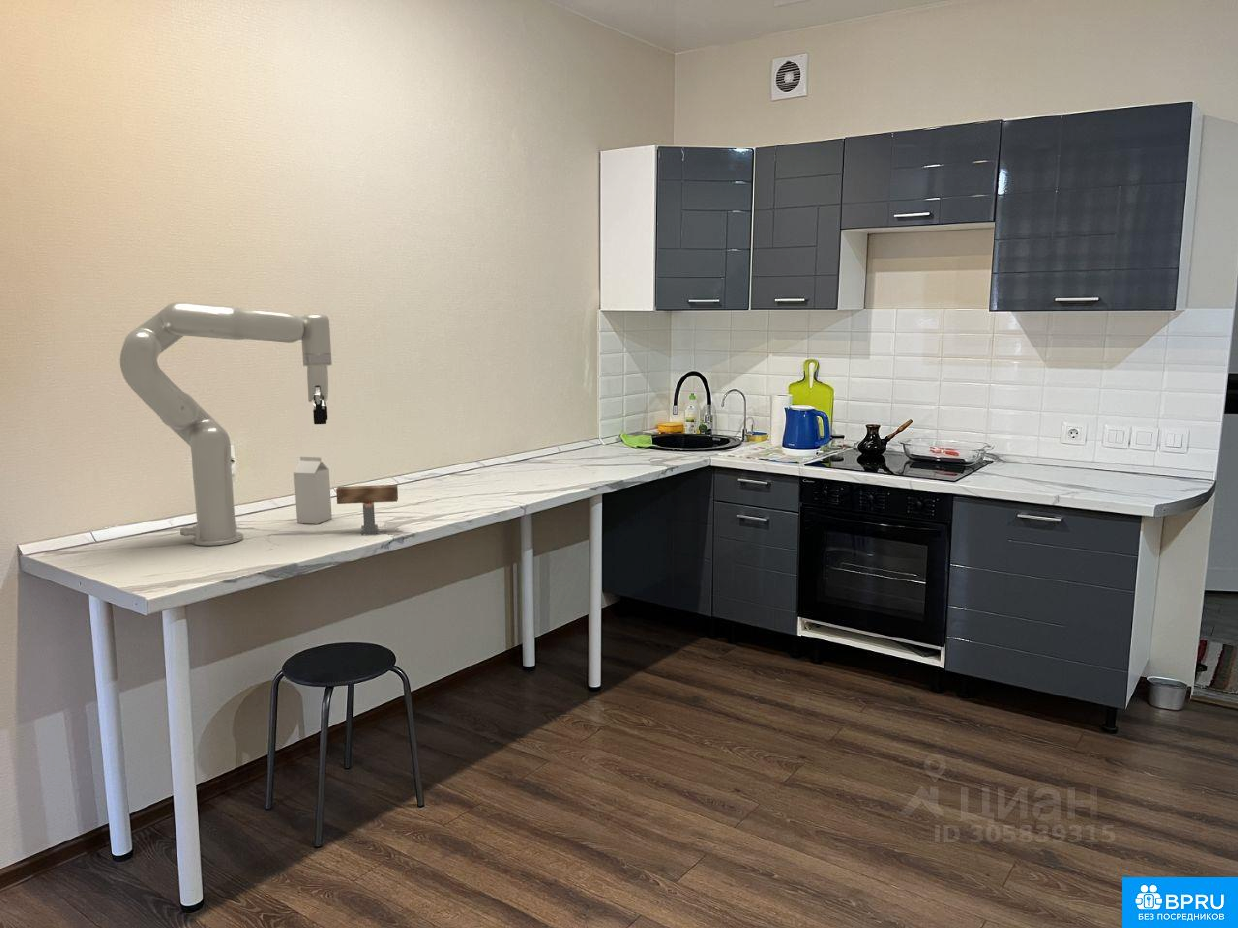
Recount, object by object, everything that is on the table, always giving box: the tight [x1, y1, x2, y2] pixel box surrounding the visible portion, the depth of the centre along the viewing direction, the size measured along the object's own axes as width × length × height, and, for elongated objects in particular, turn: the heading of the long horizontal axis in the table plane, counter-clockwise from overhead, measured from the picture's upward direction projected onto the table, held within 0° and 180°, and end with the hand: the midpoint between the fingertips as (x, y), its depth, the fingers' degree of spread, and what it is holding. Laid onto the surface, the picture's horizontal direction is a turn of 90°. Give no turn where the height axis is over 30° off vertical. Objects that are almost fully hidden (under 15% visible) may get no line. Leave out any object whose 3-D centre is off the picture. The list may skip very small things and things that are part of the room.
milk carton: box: [293, 456, 333, 525], centre depth 276 cm, size 7×7×19 cm
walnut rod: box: [335, 484, 399, 505], centre depth 261 cm, size 16×4×4 cm, turn 99°
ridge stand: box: [361, 502, 379, 536], centre depth 262 cm, size 4×7×9 cm, turn 15°
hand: (320, 422), depth 263 cm, fingers open, 9 cm apart
